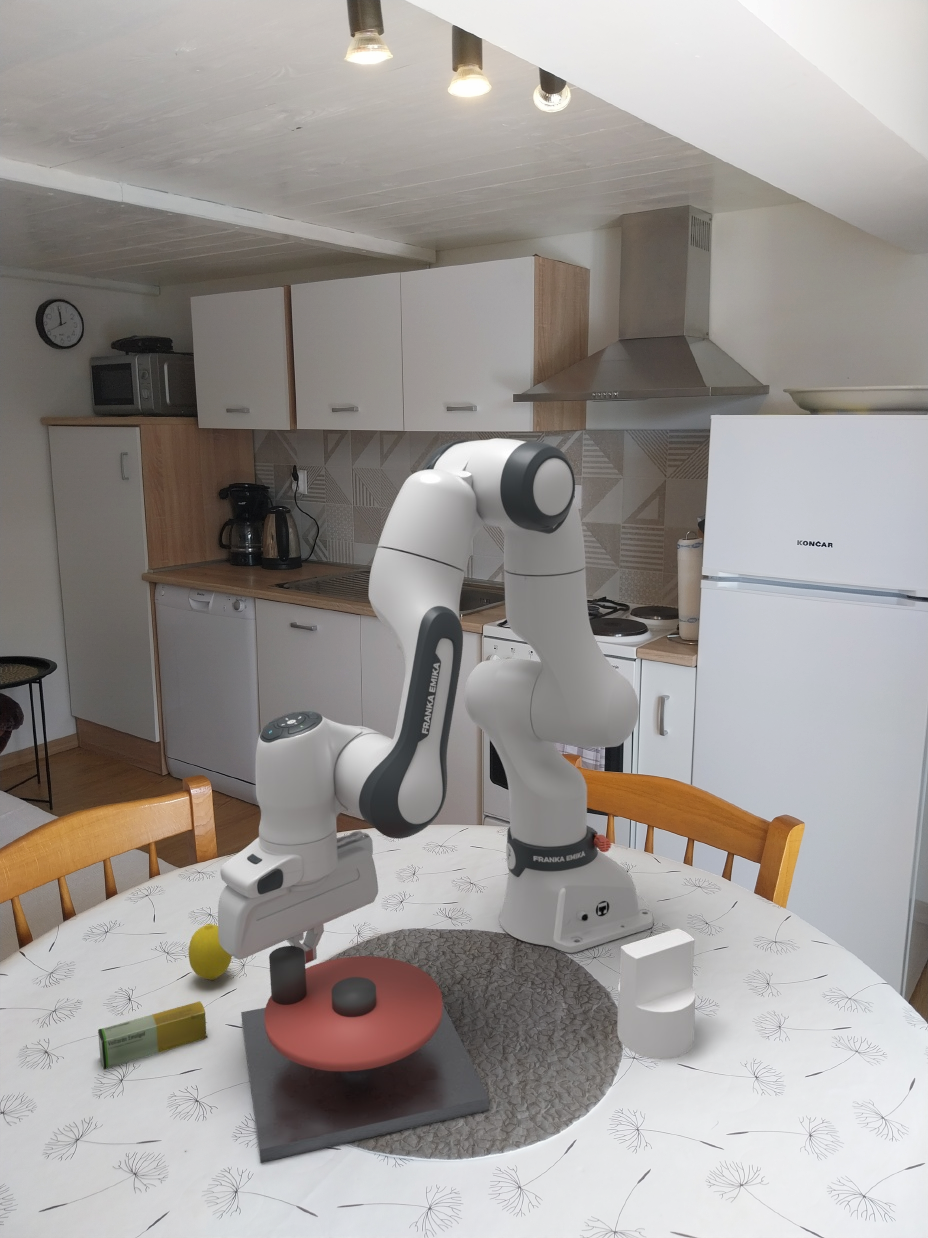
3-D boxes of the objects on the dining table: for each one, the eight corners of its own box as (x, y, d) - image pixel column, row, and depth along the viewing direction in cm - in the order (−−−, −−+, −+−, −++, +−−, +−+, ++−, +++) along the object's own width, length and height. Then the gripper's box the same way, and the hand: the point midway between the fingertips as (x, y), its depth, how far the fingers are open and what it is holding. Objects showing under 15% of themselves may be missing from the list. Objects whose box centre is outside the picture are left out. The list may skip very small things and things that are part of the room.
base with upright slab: (648, 1068, 108) (651, 972, 106) (602, 1025, 116) (603, 935, 114) (709, 1044, 112) (713, 951, 110) (660, 1004, 120) (663, 917, 118)
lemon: (222, 993, 124) (218, 937, 122) (183, 989, 125) (178, 933, 123) (240, 970, 129) (237, 916, 128) (202, 966, 130) (198, 912, 129)
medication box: (102, 1072, 109) (99, 1041, 108) (99, 1059, 112) (96, 1028, 111) (208, 1040, 115) (206, 1010, 114) (202, 1027, 117) (200, 998, 116)
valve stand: (430, 987, 124) (429, 945, 123) (489, 1110, 102) (488, 1059, 101) (241, 1023, 118) (238, 978, 116) (260, 1163, 95) (257, 1109, 94)
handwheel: (461, 976, 116) (461, 929, 114) (412, 1084, 97) (411, 1029, 95) (308, 956, 120) (305, 911, 119) (232, 1055, 101) (229, 1003, 100)
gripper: (355, 819, 120) (360, 920, 123) (206, 871, 106) (215, 984, 109) (386, 833, 115) (390, 938, 118) (235, 891, 102) (243, 1008, 104)
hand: (305, 961), depth 113 cm, fingers closed
